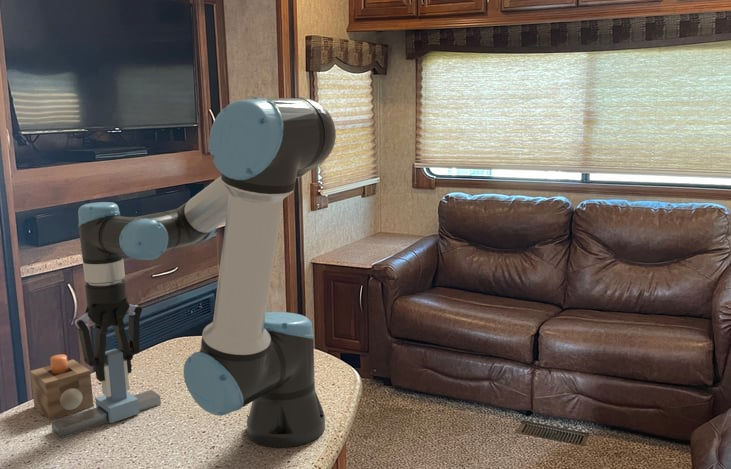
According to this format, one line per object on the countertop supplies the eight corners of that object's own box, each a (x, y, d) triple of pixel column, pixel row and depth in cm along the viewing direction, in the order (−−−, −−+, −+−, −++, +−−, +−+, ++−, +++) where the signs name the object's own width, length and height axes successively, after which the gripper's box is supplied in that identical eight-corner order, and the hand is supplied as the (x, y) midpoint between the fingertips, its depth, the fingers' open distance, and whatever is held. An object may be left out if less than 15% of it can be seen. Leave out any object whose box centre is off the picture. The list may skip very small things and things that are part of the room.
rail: (160, 404, 147) (160, 395, 147) (60, 438, 133) (58, 429, 133) (152, 398, 150) (151, 389, 150) (52, 431, 136) (51, 422, 135)
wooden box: (94, 406, 146) (91, 371, 145) (51, 421, 140) (46, 384, 139) (76, 393, 153) (73, 359, 152) (34, 406, 147) (30, 370, 146)
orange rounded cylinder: (70, 371, 145) (69, 357, 145) (55, 375, 143) (53, 361, 143) (64, 367, 148) (63, 353, 147) (49, 371, 146) (47, 357, 145)
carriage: (139, 413, 142) (134, 352, 140) (111, 423, 138) (105, 360, 136) (124, 403, 147) (118, 344, 145) (96, 412, 143) (90, 351, 141)
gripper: (135, 270, 145) (144, 375, 150) (56, 285, 134) (69, 398, 139) (152, 276, 140) (161, 385, 145) (70, 292, 129) (83, 410, 134)
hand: (115, 391), depth 142 cm, fingers closed on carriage, 3 cm apart
